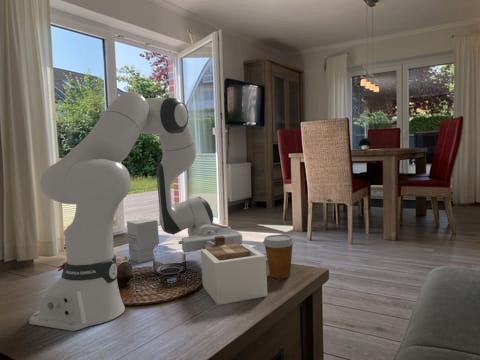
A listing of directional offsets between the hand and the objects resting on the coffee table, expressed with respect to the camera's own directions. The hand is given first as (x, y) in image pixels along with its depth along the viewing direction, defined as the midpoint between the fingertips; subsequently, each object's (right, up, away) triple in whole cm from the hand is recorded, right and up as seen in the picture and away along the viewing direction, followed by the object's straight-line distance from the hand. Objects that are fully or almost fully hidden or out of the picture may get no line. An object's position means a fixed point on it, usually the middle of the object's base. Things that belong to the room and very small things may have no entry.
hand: (218, 246), depth 120 cm
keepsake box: (+5, -11, -12) cm, 16 cm away
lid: (+2, -1, -7) cm, 7 cm away
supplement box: (-30, -10, +29) cm, 43 cm away
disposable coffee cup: (+19, -9, 0) cm, 21 cm away
